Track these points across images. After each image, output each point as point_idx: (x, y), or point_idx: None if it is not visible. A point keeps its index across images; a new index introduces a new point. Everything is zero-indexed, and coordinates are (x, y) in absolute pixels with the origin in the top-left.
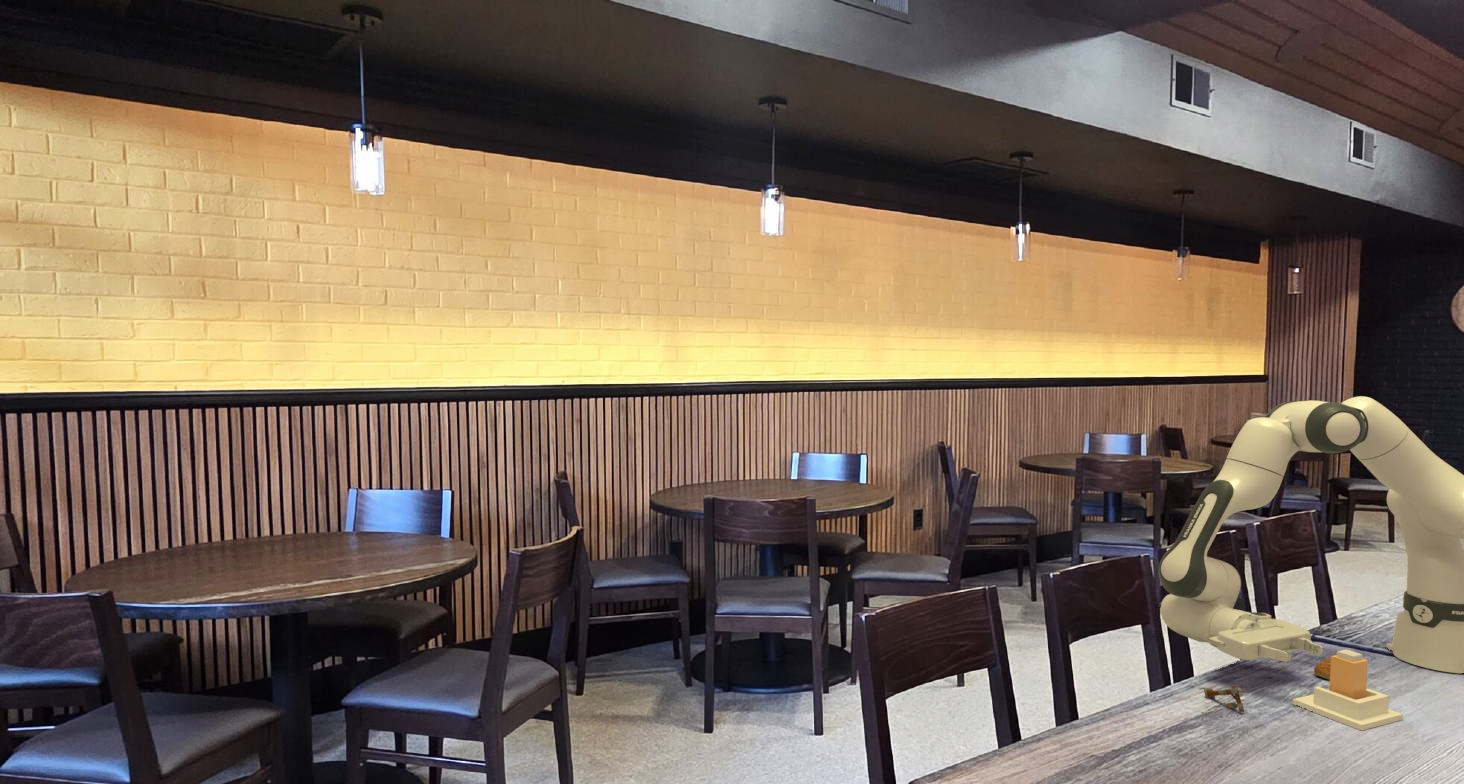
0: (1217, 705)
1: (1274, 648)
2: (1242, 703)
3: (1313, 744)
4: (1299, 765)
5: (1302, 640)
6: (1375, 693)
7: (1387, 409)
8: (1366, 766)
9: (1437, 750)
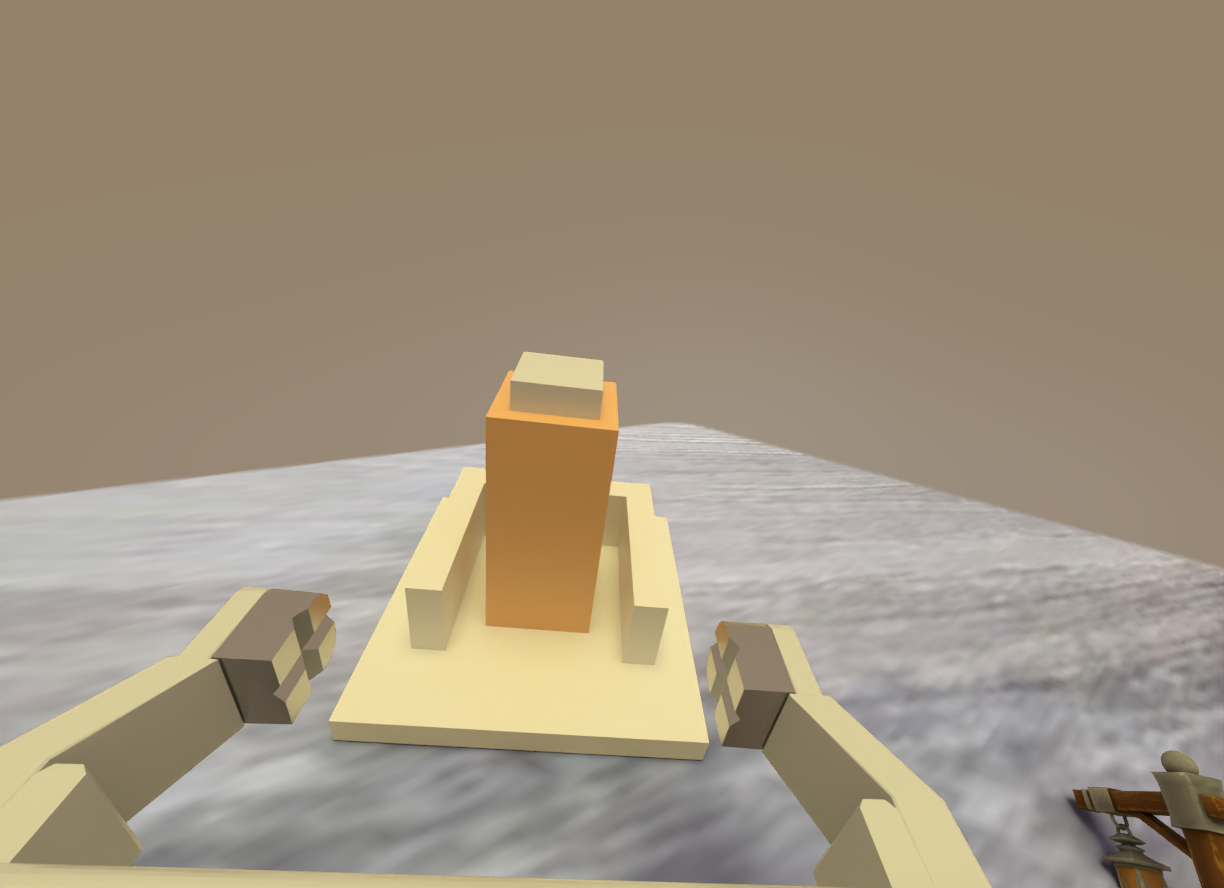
0: None
1: (826, 731)
2: (1103, 789)
3: (890, 550)
4: (998, 523)
5: (83, 791)
6: (480, 488)
7: None
8: (831, 475)
9: None
